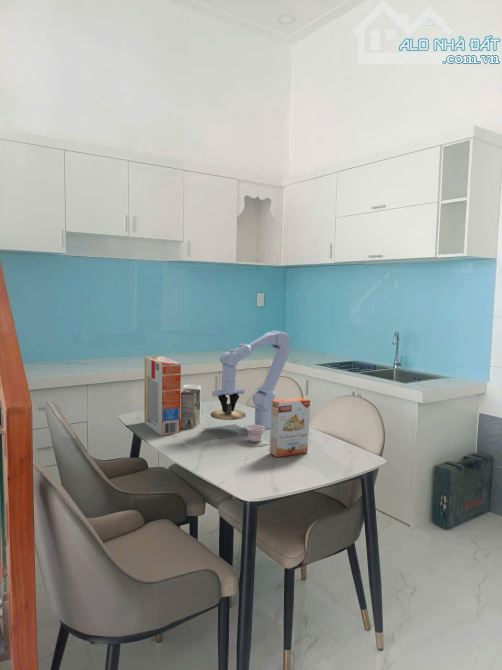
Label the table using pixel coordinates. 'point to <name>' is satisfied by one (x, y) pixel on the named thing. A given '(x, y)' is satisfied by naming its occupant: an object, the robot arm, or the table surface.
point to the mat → (227, 431)
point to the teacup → (255, 433)
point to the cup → (196, 387)
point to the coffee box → (190, 408)
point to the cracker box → (289, 426)
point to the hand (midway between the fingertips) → (228, 411)
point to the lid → (228, 414)
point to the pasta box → (162, 395)
